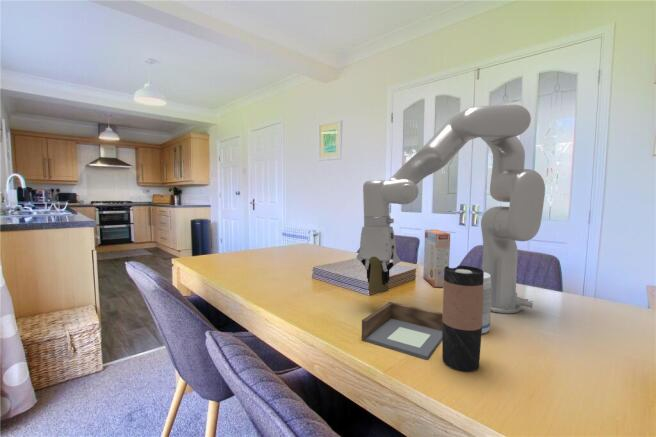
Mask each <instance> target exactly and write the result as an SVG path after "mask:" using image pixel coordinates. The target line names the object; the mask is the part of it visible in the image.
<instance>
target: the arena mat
mask: <svg viewBox="0 0 656 437" xmlns="http://www.w3.org/2000/svg"><path fill="white" fill-rule="evenodd" d="M363 339H365V338H363ZM362 341H363V342H366V343H370V344H373V345H376V346H380V347H383V348H387V349H390V350H393V351H397V352H400V353H403V354H407V355H409V356H413V357H416V358H419V359H423V360H426V361H428V360H429V358H430V357H431V356H432V355H433V353H434V352H435V351H436V349H437V348H438V347H439V345H440V344H441V343H442V331H441V330H437V329H433V328H428V327H424V326H420V325H416V324H412V323H408V322H404V321H400V320H396V319H390V320H389V321H387V322H386V323H385V324H383V325H382V326H381V327H380V328H378V329H377V330H376V331H375V332H373V333H372V334H371V335H370V336H368V337H367V338H366V340H365V341H364V340H362Z"/></svg>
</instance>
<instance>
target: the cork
mask: <svg viewBox="0 0 656 437" xmlns="http://www.w3.org/2000/svg"><path fill="white" fill-rule="evenodd" d="M369 263H370V264H371V268H370V279H369V283H368V288H367V290H368V291H369V292H371V293H376V294H380V293H381V294H382V293H387V292H388V291H389V286H388V283H386V284H385V285H383V284H382V271H383V265H382V261H380V260H379V259H378V258H377V257H371V258H370V259H369Z"/></svg>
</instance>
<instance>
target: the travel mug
mask: <svg viewBox="0 0 656 437" xmlns="http://www.w3.org/2000/svg"><path fill="white" fill-rule="evenodd" d="M483 280H484V272H483V270H482V268H479V267H475V266H472V265H471V266H470V265H457V266H456V267H450V266H449V267H448V266H446V267H445V269H444V287H443V293H442V297H443V298H442V299H443V300H442V313H443V316H442V341H441V343H442V346H441V348H442V349H441V350H442V352H441V353H442V357H441V358H442V362H443V364H445V366H447V367H448V368H450V369H453V370H454V371H459V372H464V373H465V372H467V373H470V372H472V373H473V372H475V371H477V370H478V369H479V367H480V359H481V357H480V356H481V346H482V345H481V344H482V334H483V333H482V314H483Z"/></svg>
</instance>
